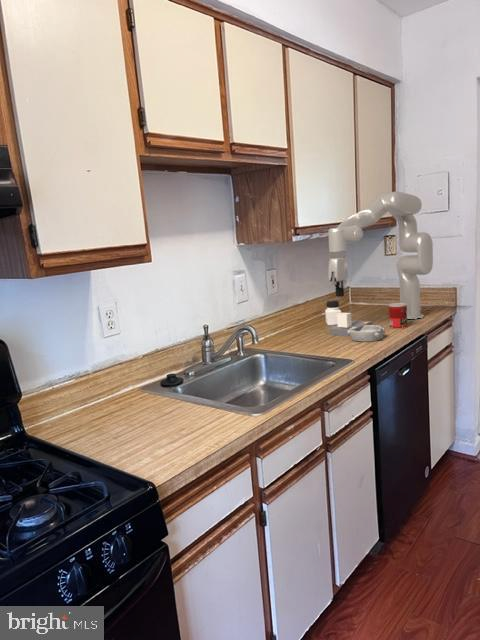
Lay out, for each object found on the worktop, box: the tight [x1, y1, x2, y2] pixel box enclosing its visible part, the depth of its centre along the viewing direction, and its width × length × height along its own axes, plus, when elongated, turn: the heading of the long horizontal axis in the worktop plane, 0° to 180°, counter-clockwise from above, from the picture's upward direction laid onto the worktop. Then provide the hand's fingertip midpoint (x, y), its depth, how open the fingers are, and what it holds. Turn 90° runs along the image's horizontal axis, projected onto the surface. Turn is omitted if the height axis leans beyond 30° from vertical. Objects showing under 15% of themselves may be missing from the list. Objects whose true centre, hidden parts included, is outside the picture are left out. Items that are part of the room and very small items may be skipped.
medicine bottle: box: [324, 299, 342, 326], centre depth 243 cm, size 7×7×12 cm
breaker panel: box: [328, 319, 374, 337], centre depth 223 cm, size 20×12×3 cm, turn 139°
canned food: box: [388, 302, 408, 329], centre depth 221 cm, size 8×8×11 cm
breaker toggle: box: [337, 312, 352, 328], centre depth 218 cm, size 4×5×6 cm
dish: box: [347, 324, 386, 342], centre depth 205 cm, size 14×14×5 cm
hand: (339, 296), depth 214 cm, fingers closed
